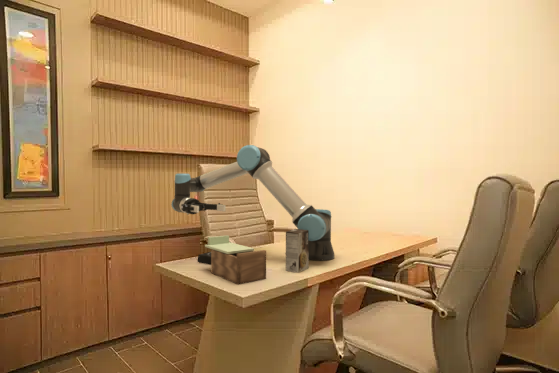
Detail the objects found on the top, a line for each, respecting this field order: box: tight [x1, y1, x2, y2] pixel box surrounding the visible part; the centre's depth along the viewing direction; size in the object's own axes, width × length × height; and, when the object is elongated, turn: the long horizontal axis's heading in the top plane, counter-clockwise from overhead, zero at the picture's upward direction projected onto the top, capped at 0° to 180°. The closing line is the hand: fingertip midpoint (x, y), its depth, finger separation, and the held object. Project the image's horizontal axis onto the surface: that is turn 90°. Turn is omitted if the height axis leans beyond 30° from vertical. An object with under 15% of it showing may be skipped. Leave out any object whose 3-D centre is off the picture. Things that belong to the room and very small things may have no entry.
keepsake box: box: [210, 249, 267, 285], centre depth 132 cm, size 20×12×10 cm, turn 39°
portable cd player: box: [197, 251, 211, 266], centre depth 157 cm, size 16×17×4 cm
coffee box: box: [285, 228, 309, 273], centre depth 143 cm, size 9×6×16 cm
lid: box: [204, 235, 255, 254], centre depth 137 cm, size 18×12×4 cm, turn 39°
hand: (211, 208), depth 149 cm, fingers open, 12 cm apart
